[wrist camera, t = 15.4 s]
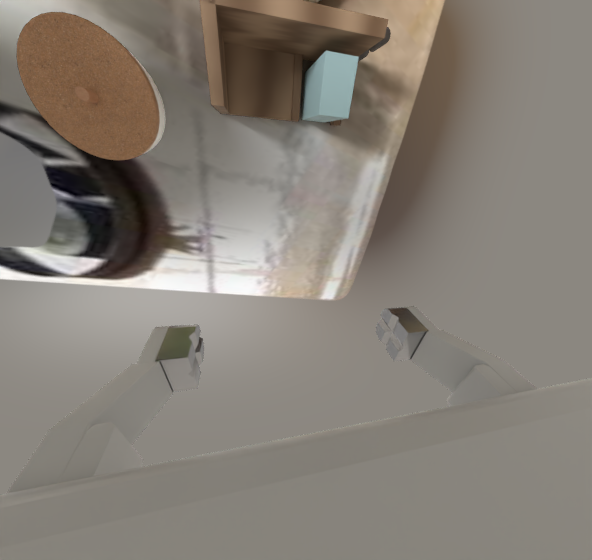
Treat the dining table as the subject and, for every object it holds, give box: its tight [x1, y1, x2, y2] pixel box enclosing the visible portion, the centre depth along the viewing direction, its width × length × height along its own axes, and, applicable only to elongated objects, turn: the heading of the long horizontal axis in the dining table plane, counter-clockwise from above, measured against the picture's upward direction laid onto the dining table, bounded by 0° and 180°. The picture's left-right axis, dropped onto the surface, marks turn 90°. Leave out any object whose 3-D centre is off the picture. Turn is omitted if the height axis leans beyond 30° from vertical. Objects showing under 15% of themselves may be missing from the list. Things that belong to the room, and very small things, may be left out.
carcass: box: [200, 0, 390, 126], centre depth 24 cm, size 18×8×10 cm, turn 86°
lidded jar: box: [17, 12, 166, 160], centre depth 23 cm, size 11×11×9 cm
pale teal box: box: [301, 51, 359, 122], centre depth 26 cm, size 5×5×9 cm
